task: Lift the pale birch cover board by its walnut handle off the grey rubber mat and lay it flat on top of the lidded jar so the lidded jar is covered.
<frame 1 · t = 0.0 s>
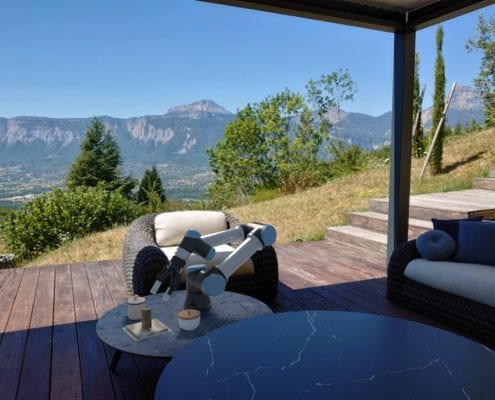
hand: (158, 296, 197), 15 cm above the table, tool tilted 35°, fingers open, 13 cm apart
lidded jar: (189, 329, 197), on the table
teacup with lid: (135, 317, 213), on the table
cover board: (146, 329, 196), resting on mat
mat: (147, 330, 196), on the table
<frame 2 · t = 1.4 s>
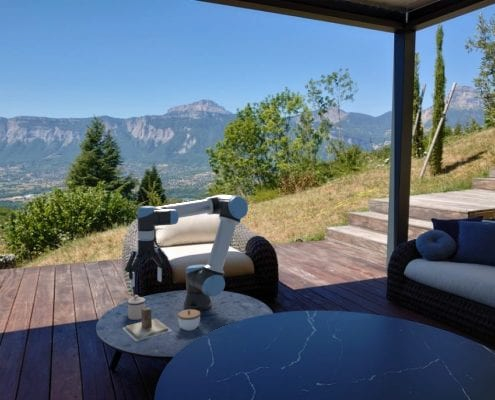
hand: (146, 283, 194), 23 cm above the table, tool pointing down, fingers open, 13 cm apart
nothing on the table moved.
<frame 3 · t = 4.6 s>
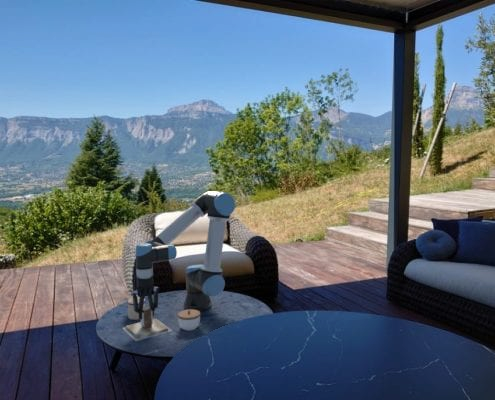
hand: (146, 324, 195), 3 cm above the table, tool pointing down, fingers closed on cover board, 3 cm apart
cover board: (146, 329, 196), resting on mat, touching gripper
everything else where it was.
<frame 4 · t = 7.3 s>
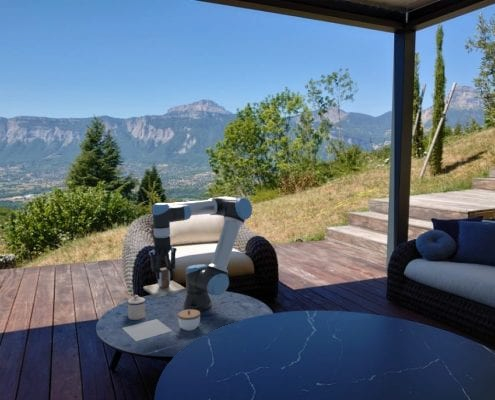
hand: (164, 284, 194), 22 cm above the table, tool pointing down, fingers closed on cover board, 3 cm apart
cover board: (164, 289, 194), point 20 cm above the table, touching gripper
everything else where it was.
when the fingers open (14 cm above the table, at t = 10.3 s): cover board drops 2 cm, resting on lidded jar.
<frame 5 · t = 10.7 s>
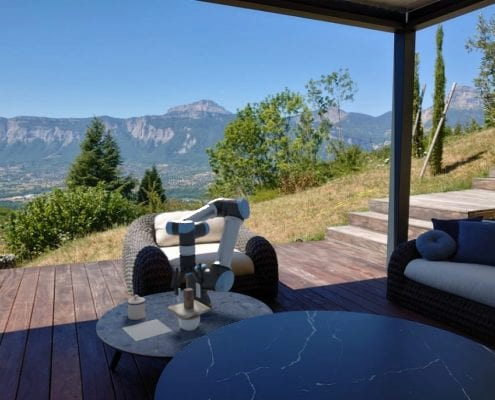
hand: (188, 299, 195), 15 cm above the table, tool pointing down, fingers open, 10 cm apart
lidded jar: (189, 329, 197), on the table, touching cover board
cover board: (189, 310, 196), point 9 cm above the table, touching lidded jar
everything else where it was.
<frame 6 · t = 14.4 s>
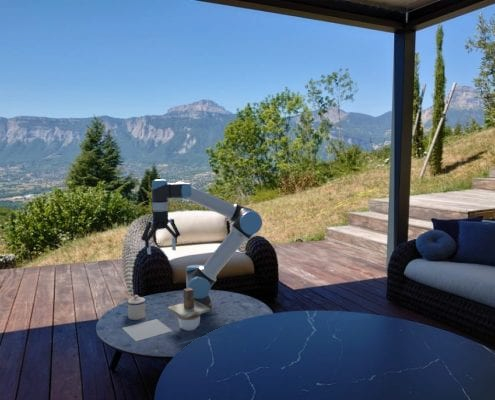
hand: (161, 252, 207), 35 cm above the table, tool pointing down, fingers open, 13 cm apart
nothing on the table moved.
at the end: cover board 0.0 cm off-centre on the lidded jar, point 9.6 cm above the lidded jar's base; cover board tilted 1°; the gripper is holding nothing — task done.
